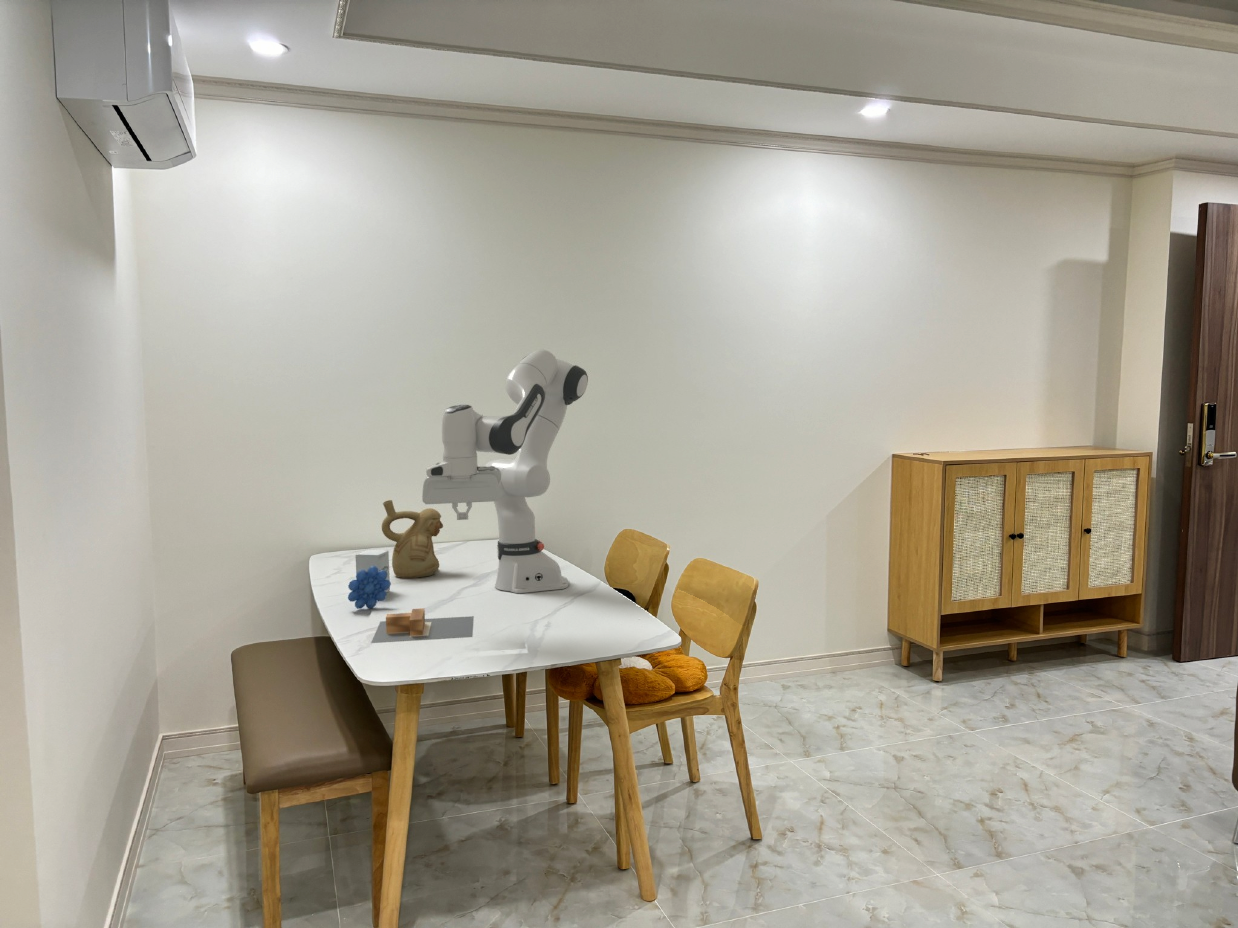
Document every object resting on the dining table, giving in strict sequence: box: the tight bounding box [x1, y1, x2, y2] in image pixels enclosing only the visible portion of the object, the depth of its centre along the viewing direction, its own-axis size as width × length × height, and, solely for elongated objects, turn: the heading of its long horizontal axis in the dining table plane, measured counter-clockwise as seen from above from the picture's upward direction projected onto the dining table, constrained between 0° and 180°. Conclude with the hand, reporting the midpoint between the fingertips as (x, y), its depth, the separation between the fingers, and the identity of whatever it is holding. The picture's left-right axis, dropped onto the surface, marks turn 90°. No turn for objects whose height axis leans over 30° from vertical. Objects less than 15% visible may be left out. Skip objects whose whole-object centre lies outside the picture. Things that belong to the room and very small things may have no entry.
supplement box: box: [355, 549, 391, 593], centre depth 255 cm, size 7×7×13 cm
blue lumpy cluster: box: [347, 566, 392, 610], centre depth 239 cm, size 12×7×12 cm, turn 110°
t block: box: [385, 607, 426, 636], centre depth 215 cm, size 9×10×4 cm
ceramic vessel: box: [381, 499, 444, 579], centre depth 278 cm, size 17×20×25 cm
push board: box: [370, 615, 474, 644], centre depth 216 cm, size 24×18×1 cm
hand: (462, 519), depth 225 cm, fingers closed
